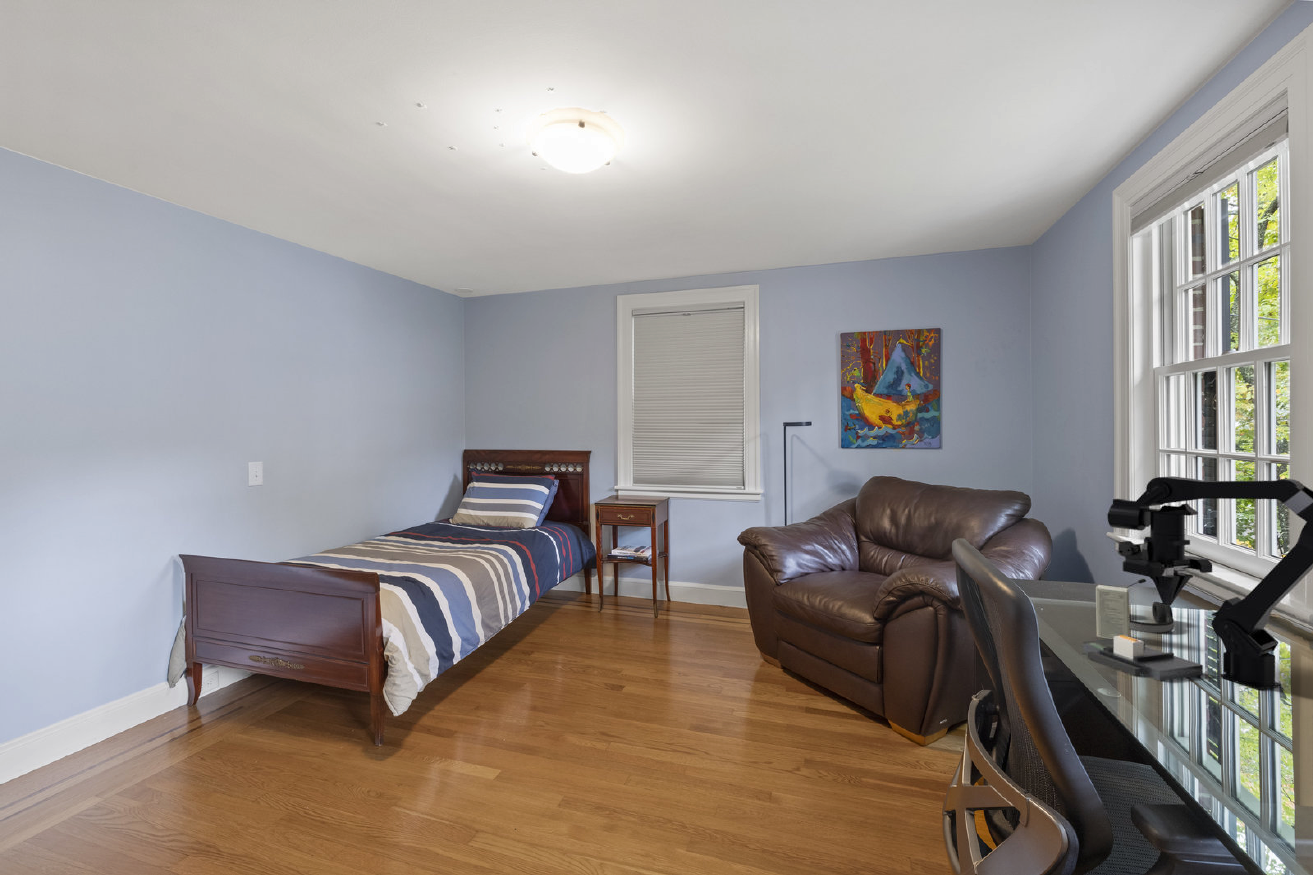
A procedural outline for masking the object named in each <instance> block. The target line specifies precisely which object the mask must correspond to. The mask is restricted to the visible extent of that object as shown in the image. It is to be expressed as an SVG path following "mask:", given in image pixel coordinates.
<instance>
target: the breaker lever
mask: <svg viewBox="0 0 1313 875" xmlns="http://www.w3.org/2000/svg"><path fill="white" fill-rule="evenodd" d="M1144 644H1145V642H1144V641H1143V640H1140V639H1137V638H1133V637H1131V636H1130V637H1128V636H1125V635H1119V636H1114V653H1116V654H1119V655H1122V656H1125V657H1128V658H1131V659H1134V657H1136V656H1144Z"/></svg>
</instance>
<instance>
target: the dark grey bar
mask: <svg viewBox="0 0 1313 875" xmlns="http://www.w3.org/2000/svg"><path fill="white" fill-rule="evenodd" d="M1086 655H1087V657H1086V658H1087V659H1088V658H1089V659H1088V660H1091V659H1093V660H1094V662H1096V661H1097V662H1096V663H1099V664H1102V665H1104V664H1105V665H1104V666H1107V665H1108V666H1107V667H1109V666H1110V667H1109V668H1113V669H1115V668H1117V669H1119V670H1118V671H1120V670H1121V671H1120V672H1123V673H1126V674H1128V673H1129V675H1132V676H1133V677H1139V676H1141V674H1140V668H1137V667H1134V666H1132V665H1129V664H1126V663H1123V662H1121V661H1118V660H1115V659H1112V658H1109V657H1107V656H1104V655H1101V654H1098V653H1095V652H1093V651H1092V652H1088V654H1086ZM1093 660H1092V661H1093ZM1117 669H1116V670H1117Z"/></svg>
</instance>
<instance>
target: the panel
mask: <svg viewBox="0 0 1313 875" xmlns="http://www.w3.org/2000/svg"><path fill="white" fill-rule="evenodd" d="M1145 645H1146V644H1145V643H1144V656H1136V657H1134V659H1131V658H1128V657H1125V656H1122V655H1119V654H1116V653H1114V640H1111V641H1103V642H1094V643H1085V644H1083V643H1082V646H1081V647H1082V649H1081V650H1082V654H1086V655H1087V654H1088V652H1092V651H1093V652H1095V653H1098V654H1101V655H1104V656H1107V657H1109V658H1112V659H1115V660H1118V661H1121V662H1123V663H1126V664H1129V665H1132V666H1134V667H1137V668H1140V675H1141V676H1142V675H1143V676H1144V677H1145V676H1146V677H1147V678H1148V677H1149V678H1151V679H1153V680H1156V681H1159V682H1160V681H1168V680H1169V681H1170V680H1175V679H1181V678H1182V679H1183V678H1189V677H1196V676H1197V677H1198V676H1203V675H1204V674H1203V672H1204V665H1203V664H1200V663H1197V662H1194V661H1191V660H1189V659H1185V658H1182V657H1180V656H1179V657H1178V656H1176V655H1175V653H1174V652H1171V651H1170V652H1165V651H1164V652H1163V651H1161V650H1157V649H1154V648H1152V647H1148V646H1145Z"/></svg>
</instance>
